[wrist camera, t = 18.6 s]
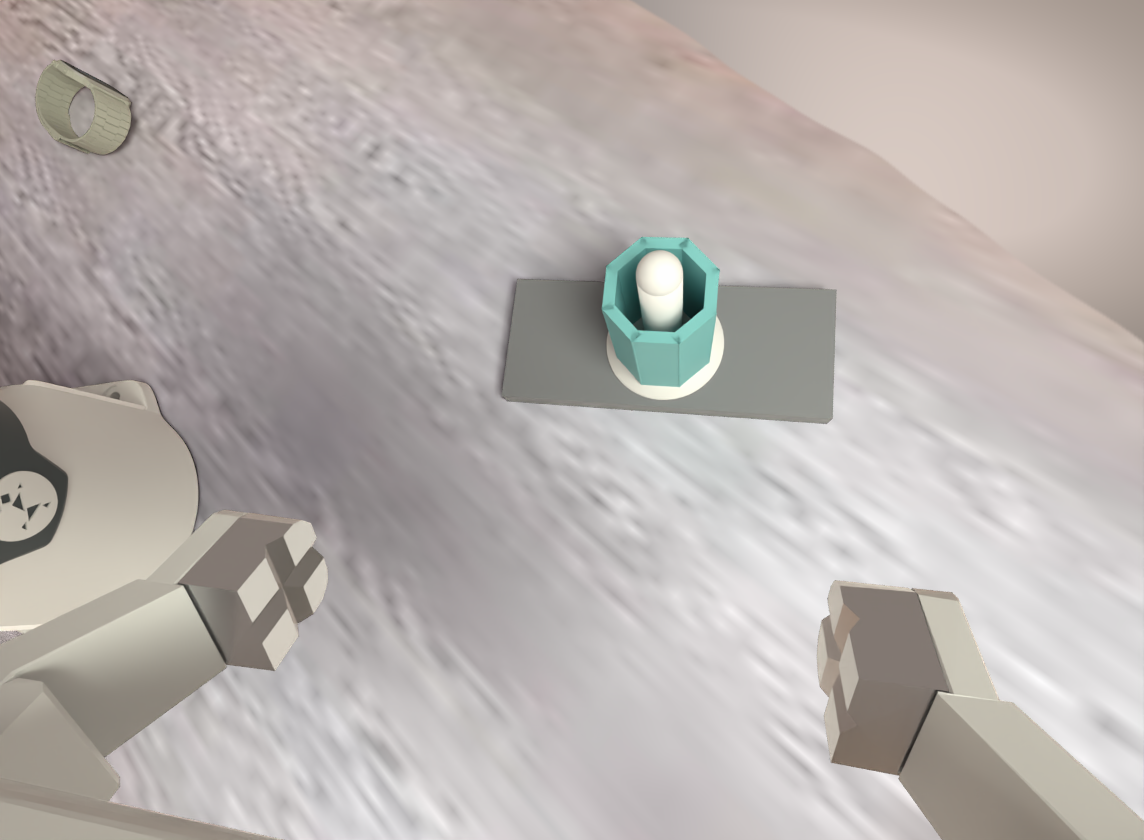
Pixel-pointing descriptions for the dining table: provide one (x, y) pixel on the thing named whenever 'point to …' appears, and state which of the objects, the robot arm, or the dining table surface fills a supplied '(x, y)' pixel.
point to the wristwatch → (55, 100)
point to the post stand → (740, 343)
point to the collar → (656, 351)
